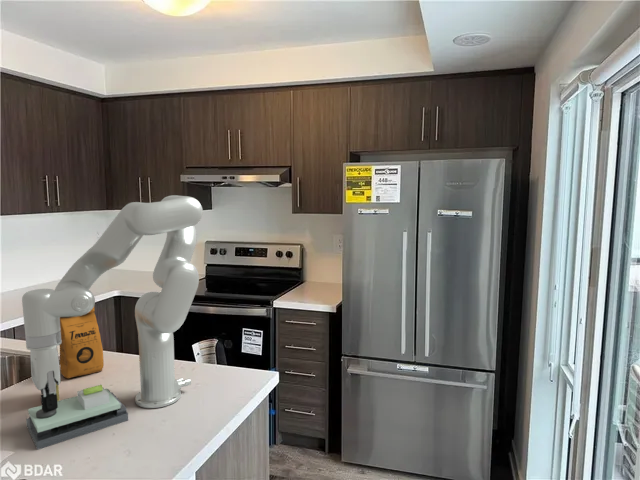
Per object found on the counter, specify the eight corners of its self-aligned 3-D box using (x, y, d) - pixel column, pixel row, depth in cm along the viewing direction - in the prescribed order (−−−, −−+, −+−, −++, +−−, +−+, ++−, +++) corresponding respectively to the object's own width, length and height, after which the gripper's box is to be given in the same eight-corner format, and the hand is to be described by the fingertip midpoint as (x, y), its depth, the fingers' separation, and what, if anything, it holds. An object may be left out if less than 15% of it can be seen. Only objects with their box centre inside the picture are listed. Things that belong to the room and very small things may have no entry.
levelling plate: (108, 391, 131) (107, 374, 130) (122, 407, 122) (121, 388, 121) (28, 413, 118) (27, 394, 118) (37, 432, 109) (36, 412, 109)
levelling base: (111, 401, 133) (111, 390, 132) (128, 420, 122) (127, 408, 122) (26, 425, 119) (25, 414, 119) (37, 449, 109) (36, 437, 108)
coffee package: (106, 373, 152) (103, 308, 150) (64, 382, 145) (59, 315, 142) (99, 363, 160) (95, 302, 157) (58, 372, 153) (54, 307, 150)
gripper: (20, 335, 117) (27, 403, 119) (31, 351, 106) (38, 426, 108) (54, 328, 122) (59, 394, 124) (68, 343, 110) (73, 415, 113)
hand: (50, 409), depth 116 cm, fingers closed
